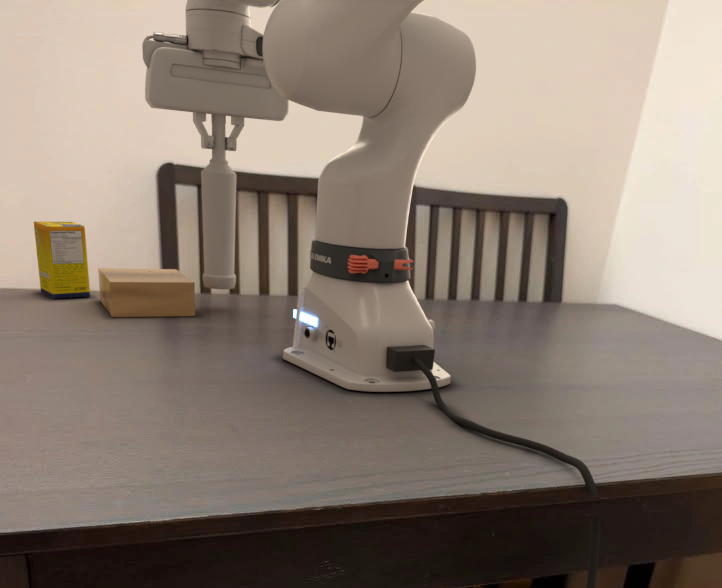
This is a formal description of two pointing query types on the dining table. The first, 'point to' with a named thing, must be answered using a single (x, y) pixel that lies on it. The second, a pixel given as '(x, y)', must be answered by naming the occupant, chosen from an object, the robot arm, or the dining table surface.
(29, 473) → the dining table surface
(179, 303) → the block
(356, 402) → the dining table surface
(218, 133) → the bottle
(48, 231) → the supplement box
